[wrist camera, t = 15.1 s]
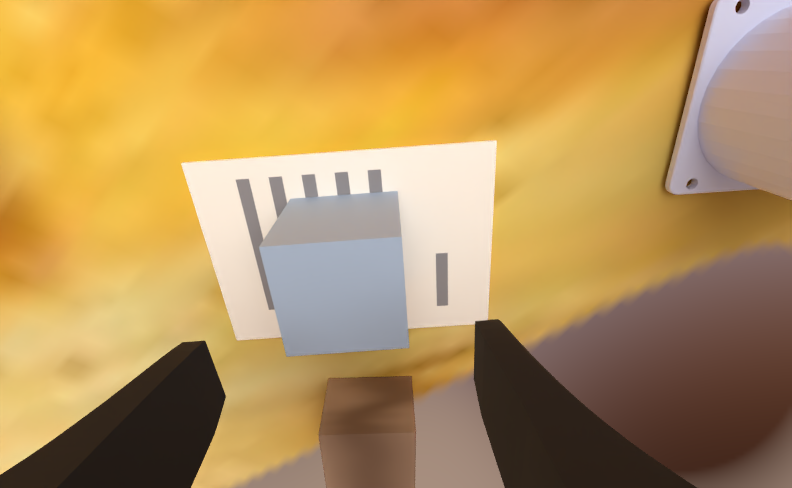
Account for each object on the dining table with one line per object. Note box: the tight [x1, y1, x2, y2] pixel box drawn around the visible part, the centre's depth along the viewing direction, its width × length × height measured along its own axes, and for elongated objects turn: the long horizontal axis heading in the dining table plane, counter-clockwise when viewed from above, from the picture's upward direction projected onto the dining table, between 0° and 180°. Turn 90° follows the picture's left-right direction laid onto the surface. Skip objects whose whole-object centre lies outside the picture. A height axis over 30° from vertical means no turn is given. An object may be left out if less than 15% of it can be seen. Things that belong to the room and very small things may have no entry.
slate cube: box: [259, 191, 409, 357], centre depth 17 cm, size 5×5×5 cm
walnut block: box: [319, 376, 416, 488], centre depth 23 cm, size 5×5×4 cm
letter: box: [181, 140, 497, 340], centre depth 19 cm, size 14×10×1 cm
